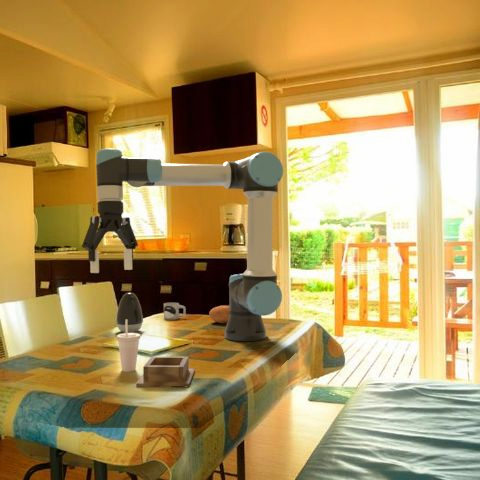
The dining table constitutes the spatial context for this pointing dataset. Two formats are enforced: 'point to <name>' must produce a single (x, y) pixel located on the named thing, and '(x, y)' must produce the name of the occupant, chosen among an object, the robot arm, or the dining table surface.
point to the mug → (173, 311)
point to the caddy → (166, 372)
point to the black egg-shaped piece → (129, 313)
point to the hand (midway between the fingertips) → (112, 271)
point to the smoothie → (128, 349)
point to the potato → (220, 314)
